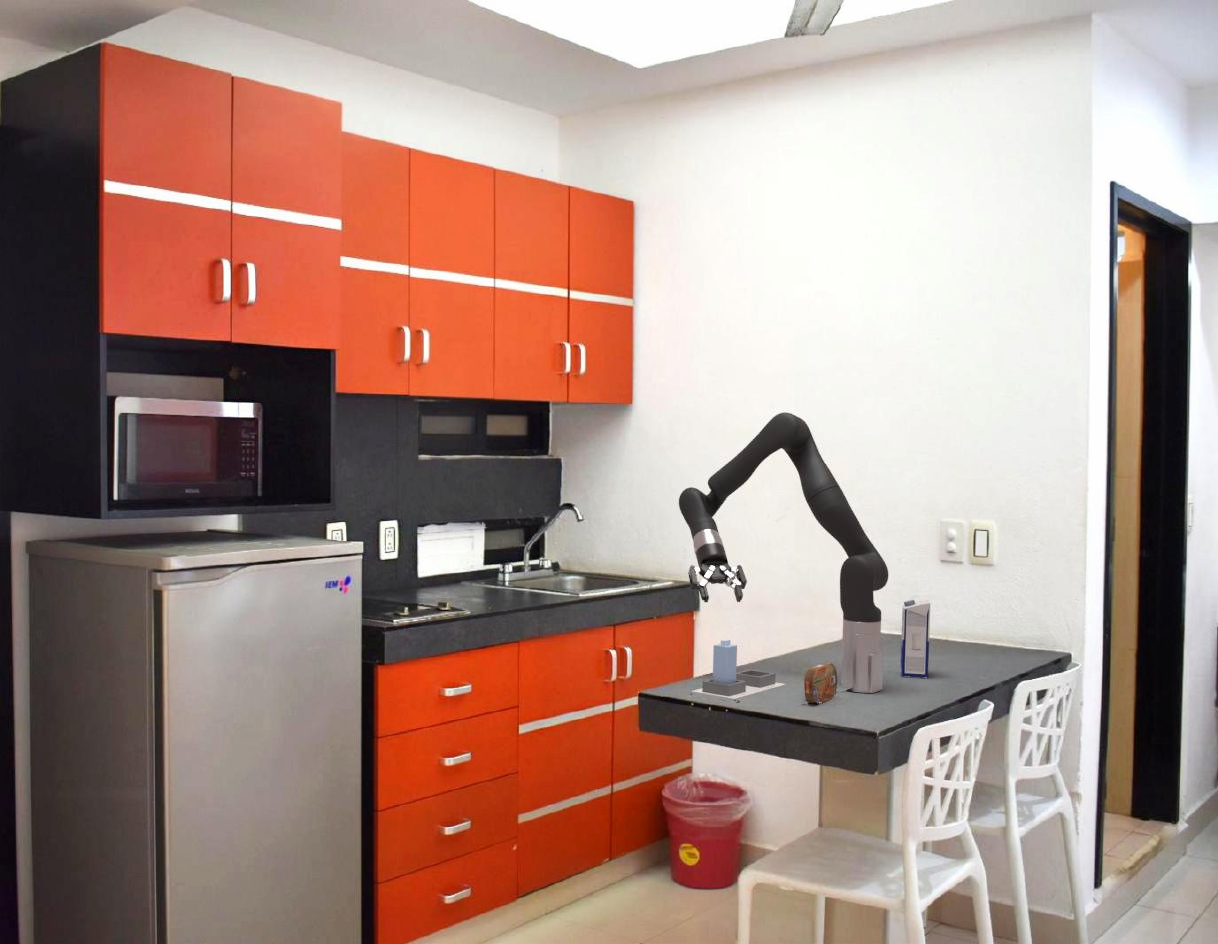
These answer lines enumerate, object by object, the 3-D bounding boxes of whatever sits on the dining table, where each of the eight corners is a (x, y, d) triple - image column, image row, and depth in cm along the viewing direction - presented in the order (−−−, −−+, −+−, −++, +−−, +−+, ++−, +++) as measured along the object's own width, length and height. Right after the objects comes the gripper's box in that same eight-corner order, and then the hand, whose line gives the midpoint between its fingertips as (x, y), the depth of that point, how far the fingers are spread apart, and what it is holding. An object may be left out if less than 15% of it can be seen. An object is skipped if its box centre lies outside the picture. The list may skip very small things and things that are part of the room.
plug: (735, 691, 284) (737, 640, 284) (726, 694, 281) (728, 642, 281) (721, 689, 286) (723, 638, 286) (712, 691, 283) (713, 640, 283)
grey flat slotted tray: (785, 688, 295) (786, 674, 295) (734, 703, 276) (734, 688, 276) (744, 681, 302) (744, 667, 302) (691, 695, 283) (691, 680, 283)
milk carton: (927, 678, 313) (930, 602, 312) (901, 677, 314) (903, 601, 314) (926, 673, 320) (928, 599, 319) (900, 672, 321) (902, 597, 320)
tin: (813, 707, 274) (815, 670, 274) (801, 705, 276) (802, 668, 276) (838, 696, 287) (839, 661, 287) (825, 694, 289) (826, 660, 288)
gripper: (686, 541, 305) (699, 591, 294) (739, 541, 308) (754, 590, 297) (680, 560, 310) (692, 610, 299) (732, 560, 314) (746, 609, 302)
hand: (723, 600), depth 298 cm, fingers open, 8 cm apart
